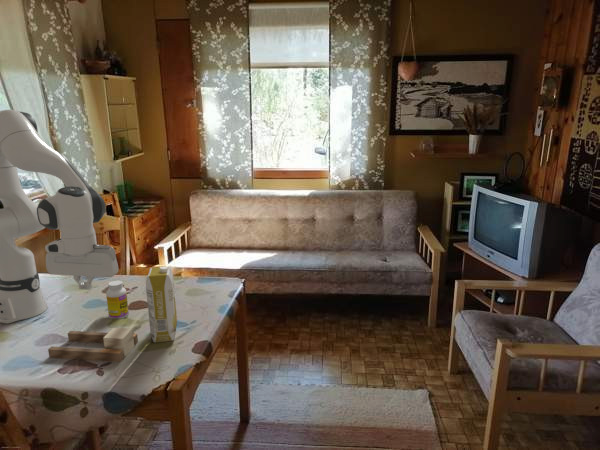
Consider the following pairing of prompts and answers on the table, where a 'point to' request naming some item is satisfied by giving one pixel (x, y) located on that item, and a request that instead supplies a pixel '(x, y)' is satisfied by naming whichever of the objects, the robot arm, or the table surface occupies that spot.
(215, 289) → the table surface
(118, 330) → the block
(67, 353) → the chute
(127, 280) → the table surface
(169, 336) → the juice carton
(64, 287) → the table surface
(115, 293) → the supplement bottle
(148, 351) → the table surface
